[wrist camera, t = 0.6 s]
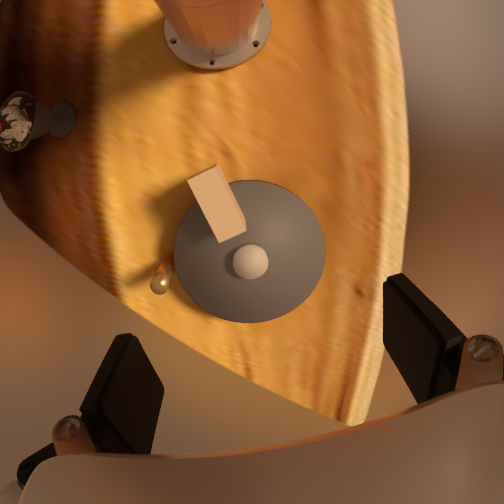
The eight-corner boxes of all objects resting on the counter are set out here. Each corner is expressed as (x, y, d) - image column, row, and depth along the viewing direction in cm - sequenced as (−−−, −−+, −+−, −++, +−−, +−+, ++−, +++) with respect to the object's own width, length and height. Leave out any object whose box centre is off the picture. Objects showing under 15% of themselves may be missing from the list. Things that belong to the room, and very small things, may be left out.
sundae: (38, 140, 32) (-37, 154, 18) (49, 94, 29) (-26, 88, 16) (74, 148, 33) (-1, 163, 19) (86, 99, 30) (13, 89, 17)
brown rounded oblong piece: (163, 211, 37) (148, 228, 30) (284, 220, 38) (294, 239, 31) (163, 270, 39) (150, 296, 33) (276, 278, 41) (283, 306, 34)
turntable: (179, 159, 32) (167, 164, 27) (335, 174, 34) (352, 182, 29) (176, 311, 40) (169, 335, 34) (308, 319, 41) (317, 344, 36)
